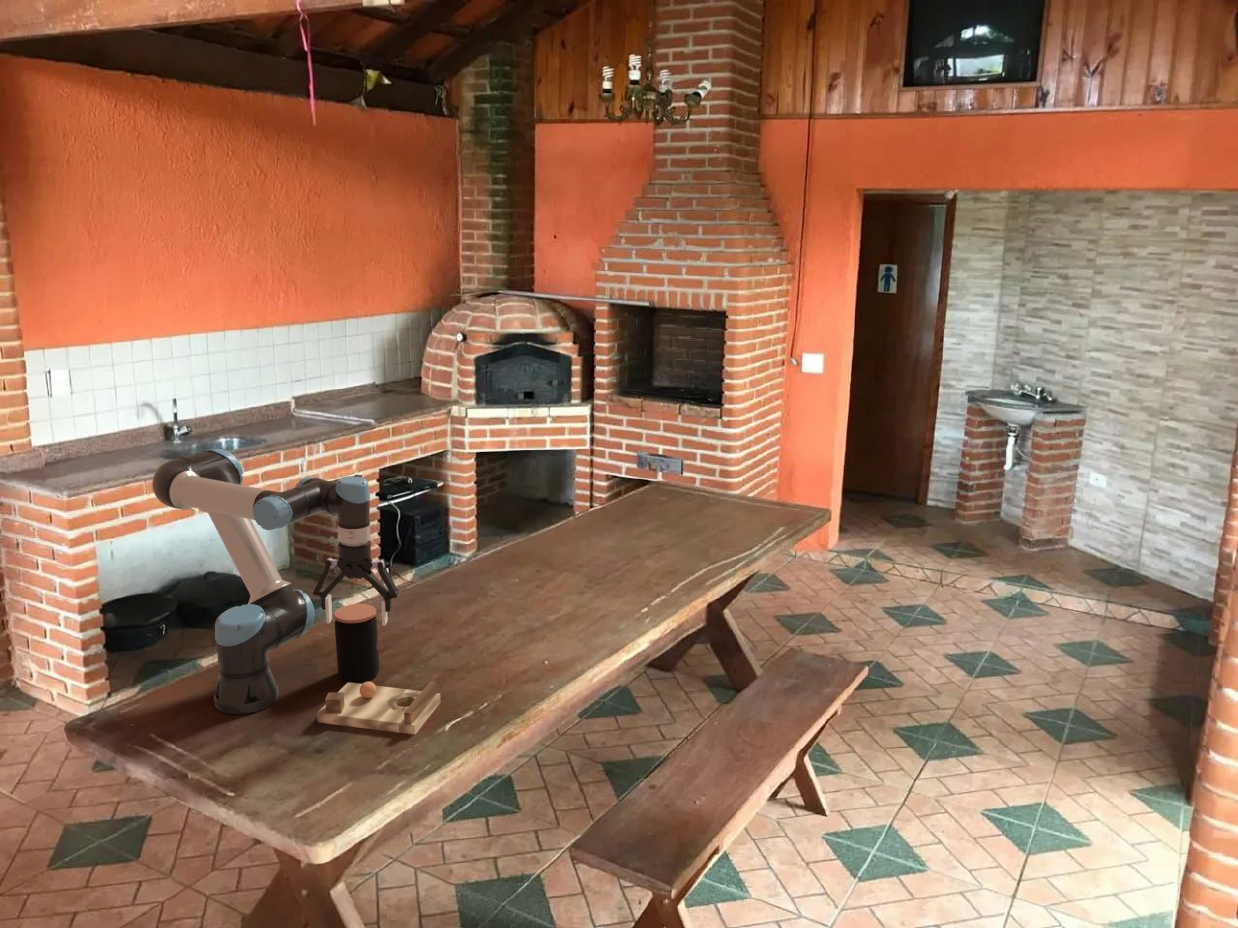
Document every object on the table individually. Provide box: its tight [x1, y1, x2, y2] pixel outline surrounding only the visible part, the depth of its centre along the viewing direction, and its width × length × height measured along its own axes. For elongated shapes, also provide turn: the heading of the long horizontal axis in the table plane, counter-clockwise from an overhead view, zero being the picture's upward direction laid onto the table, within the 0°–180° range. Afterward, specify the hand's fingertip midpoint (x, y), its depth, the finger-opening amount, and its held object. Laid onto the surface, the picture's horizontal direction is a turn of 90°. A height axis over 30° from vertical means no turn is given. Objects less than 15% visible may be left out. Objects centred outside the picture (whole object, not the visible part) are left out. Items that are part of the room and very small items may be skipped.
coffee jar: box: [333, 603, 380, 684], centre depth 265 cm, size 11×11×18 cm
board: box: [316, 680, 442, 736], centre depth 248 cm, size 25×16×6 cm, turn 78°
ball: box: [360, 681, 377, 698], centre depth 250 cm, size 4×4×4 cm
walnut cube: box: [324, 691, 344, 713], centre depth 244 cm, size 4×4×4 cm
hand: (357, 622), depth 248 cm, fingers open, 13 cm apart
